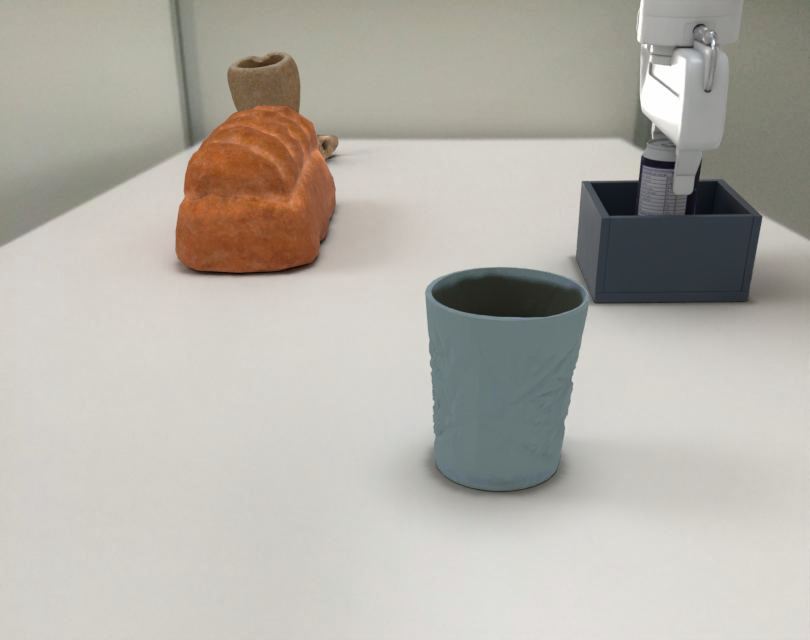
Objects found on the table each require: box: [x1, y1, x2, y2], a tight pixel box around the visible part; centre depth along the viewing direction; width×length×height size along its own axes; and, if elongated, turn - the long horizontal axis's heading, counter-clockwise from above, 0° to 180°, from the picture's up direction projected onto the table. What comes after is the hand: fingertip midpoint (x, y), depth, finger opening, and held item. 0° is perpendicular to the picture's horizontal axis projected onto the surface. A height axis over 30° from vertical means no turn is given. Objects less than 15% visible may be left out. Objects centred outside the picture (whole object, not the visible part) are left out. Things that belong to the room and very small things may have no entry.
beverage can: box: [635, 138, 703, 216], centre depth 95 cm, size 6×6×12 cm
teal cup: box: [424, 266, 591, 492], centre depth 63 cm, size 10×10×12 cm
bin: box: [575, 178, 763, 304], centre depth 97 cm, size 15×15×8 cm
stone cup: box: [226, 51, 340, 160], centre depth 145 cm, size 15×12×15 cm
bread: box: [174, 106, 337, 274], centre depth 112 cm, size 16×31×13 cm, turn 178°
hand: (670, 181), depth 94 cm, fingers open, 8 cm apart
